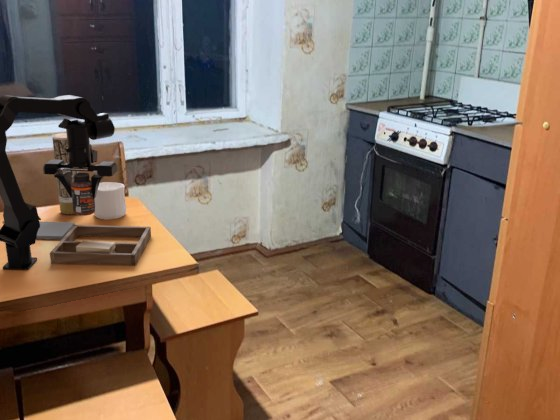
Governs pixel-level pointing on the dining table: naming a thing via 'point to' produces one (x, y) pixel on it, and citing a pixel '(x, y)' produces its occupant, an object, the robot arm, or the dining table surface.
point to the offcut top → (95, 247)
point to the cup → (110, 201)
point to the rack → (123, 255)
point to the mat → (54, 230)
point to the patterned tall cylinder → (62, 154)
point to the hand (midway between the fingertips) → (83, 197)
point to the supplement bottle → (82, 195)
